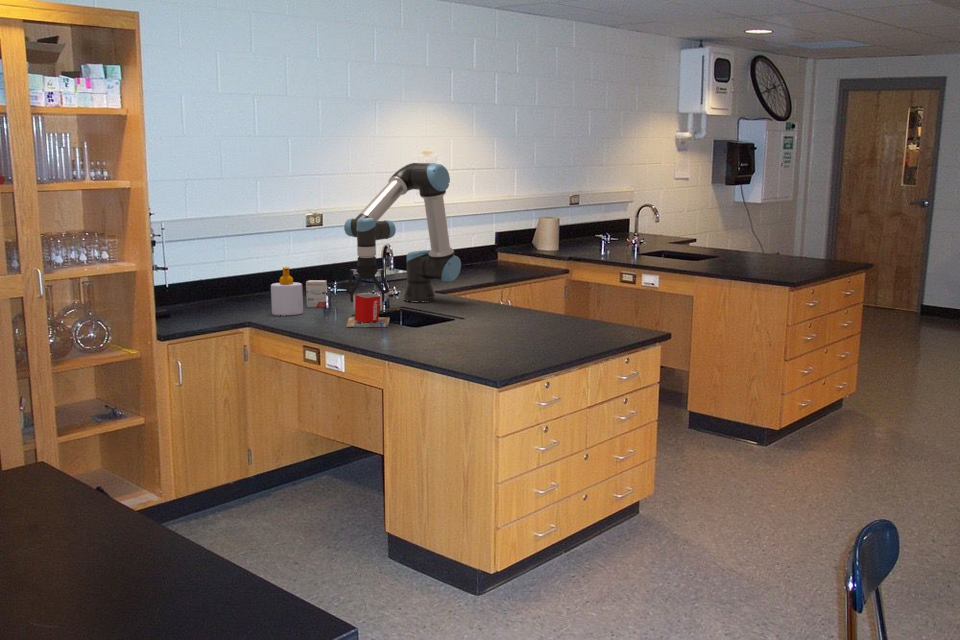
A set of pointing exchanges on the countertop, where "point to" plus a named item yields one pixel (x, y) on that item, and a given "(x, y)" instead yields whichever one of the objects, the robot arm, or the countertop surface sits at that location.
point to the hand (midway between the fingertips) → (368, 309)
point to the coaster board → (380, 319)
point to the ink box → (316, 293)
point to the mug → (367, 307)
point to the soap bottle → (286, 296)
